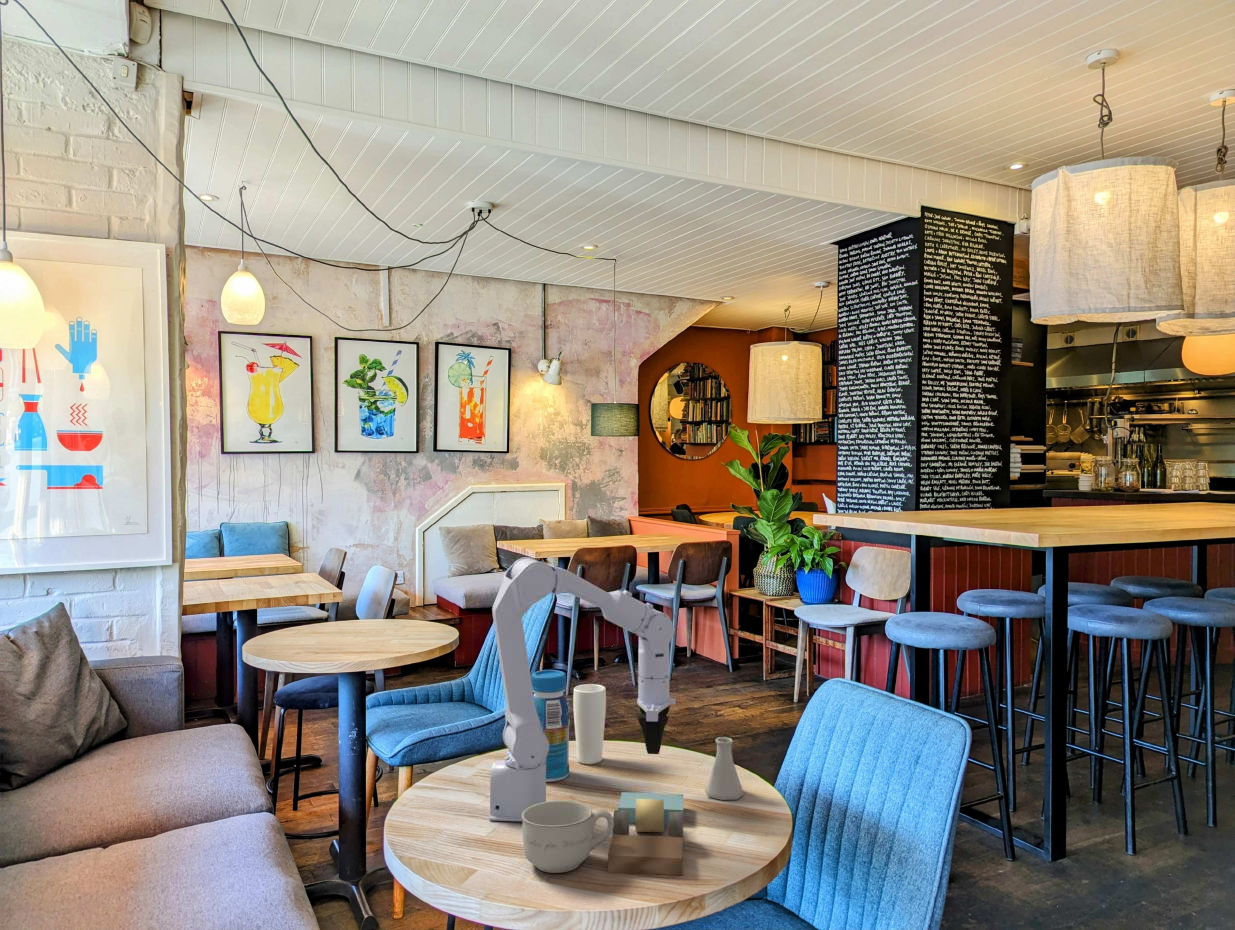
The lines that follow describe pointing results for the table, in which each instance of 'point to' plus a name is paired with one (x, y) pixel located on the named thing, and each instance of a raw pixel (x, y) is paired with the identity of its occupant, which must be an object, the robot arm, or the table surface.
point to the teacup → (561, 834)
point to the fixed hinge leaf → (646, 848)
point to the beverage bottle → (553, 720)
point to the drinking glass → (589, 721)
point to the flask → (724, 774)
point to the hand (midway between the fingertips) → (653, 749)
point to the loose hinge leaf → (650, 809)
